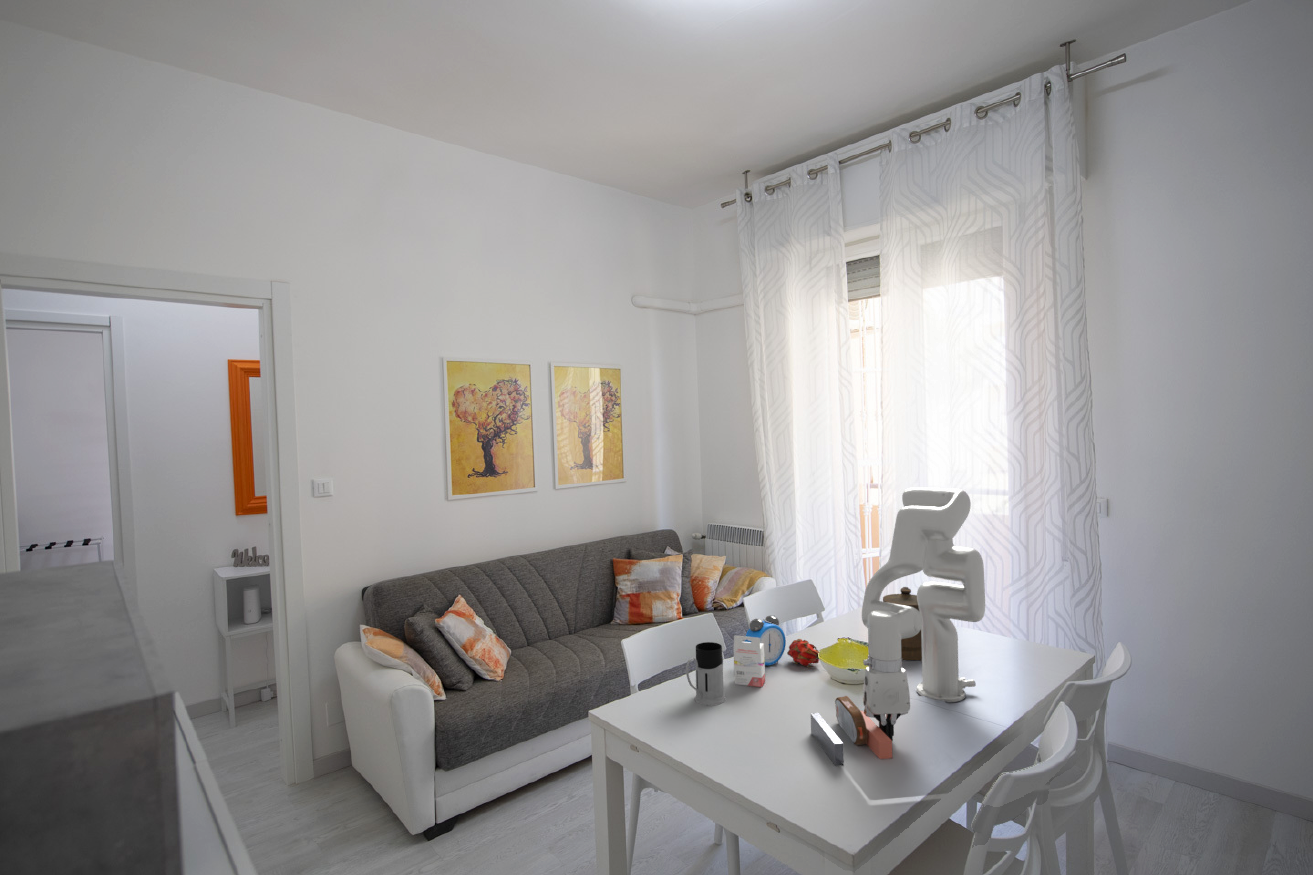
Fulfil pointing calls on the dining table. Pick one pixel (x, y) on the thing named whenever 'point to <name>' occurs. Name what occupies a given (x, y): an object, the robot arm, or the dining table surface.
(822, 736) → the gray metal bar
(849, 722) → the tin
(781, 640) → the alarm clock
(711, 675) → the glass holder
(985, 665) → the dining table surface
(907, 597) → the wooden container
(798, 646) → the dragon fruit
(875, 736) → the pink block
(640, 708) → the dining table surface
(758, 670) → the ink cartridge box
